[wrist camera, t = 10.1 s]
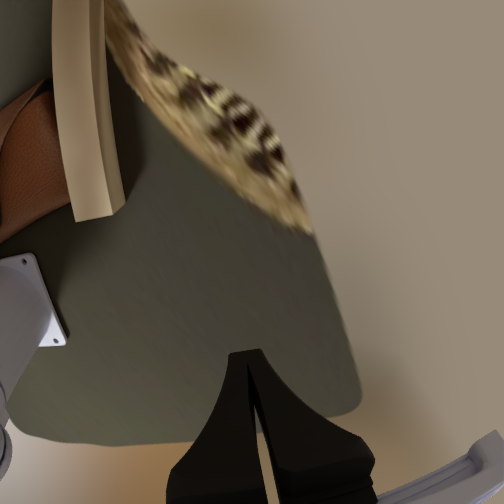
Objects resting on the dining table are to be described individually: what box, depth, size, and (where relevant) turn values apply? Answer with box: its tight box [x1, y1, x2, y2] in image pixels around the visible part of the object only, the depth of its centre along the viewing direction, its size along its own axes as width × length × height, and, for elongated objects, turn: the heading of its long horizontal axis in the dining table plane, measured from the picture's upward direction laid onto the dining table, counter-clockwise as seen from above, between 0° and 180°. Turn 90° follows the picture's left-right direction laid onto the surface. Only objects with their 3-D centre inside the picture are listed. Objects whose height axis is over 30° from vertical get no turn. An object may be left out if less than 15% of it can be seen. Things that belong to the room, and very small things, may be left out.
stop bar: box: [52, 0, 126, 222], centre depth 14 cm, size 2×18×3 cm, turn 6°
